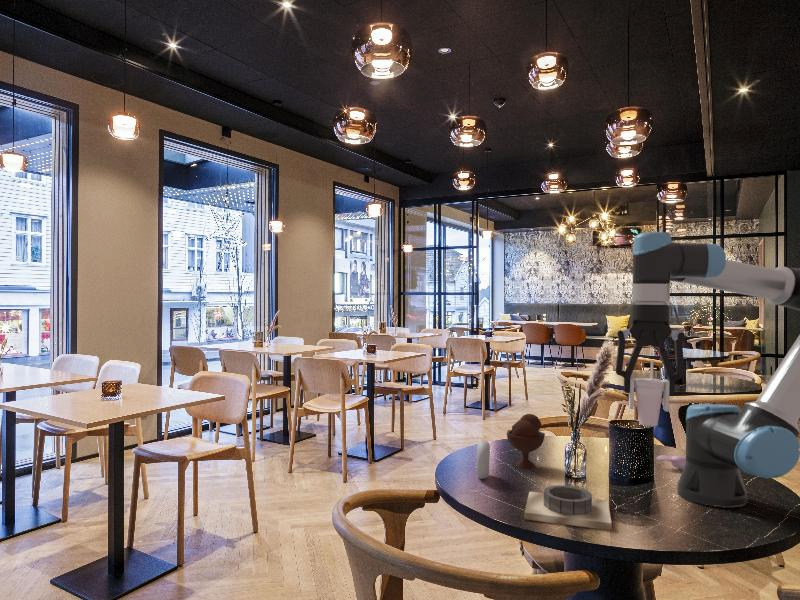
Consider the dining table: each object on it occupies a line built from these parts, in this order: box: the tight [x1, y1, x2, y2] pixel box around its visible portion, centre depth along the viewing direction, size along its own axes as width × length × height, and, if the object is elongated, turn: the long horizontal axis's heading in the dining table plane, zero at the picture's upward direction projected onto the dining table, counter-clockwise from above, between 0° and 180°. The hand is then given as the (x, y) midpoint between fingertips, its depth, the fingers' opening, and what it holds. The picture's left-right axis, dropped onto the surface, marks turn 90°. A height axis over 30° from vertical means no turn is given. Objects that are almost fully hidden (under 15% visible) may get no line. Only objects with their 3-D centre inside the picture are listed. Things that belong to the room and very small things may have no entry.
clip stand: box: [524, 484, 612, 531], centre depth 129 cm, size 18×14×4 cm
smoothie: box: [634, 359, 665, 427], centre depth 124 cm, size 6×6×14 cm
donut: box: [475, 440, 491, 480], centre depth 152 cm, size 10×3×10 cm, turn 171°
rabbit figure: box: [655, 454, 686, 471], centre depth 162 cm, size 6×6×15 cm
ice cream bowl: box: [506, 413, 546, 470], centre depth 164 cm, size 11×11×15 cm
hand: (648, 408), depth 124 cm, fingers closed on smoothie, 6 cm apart
